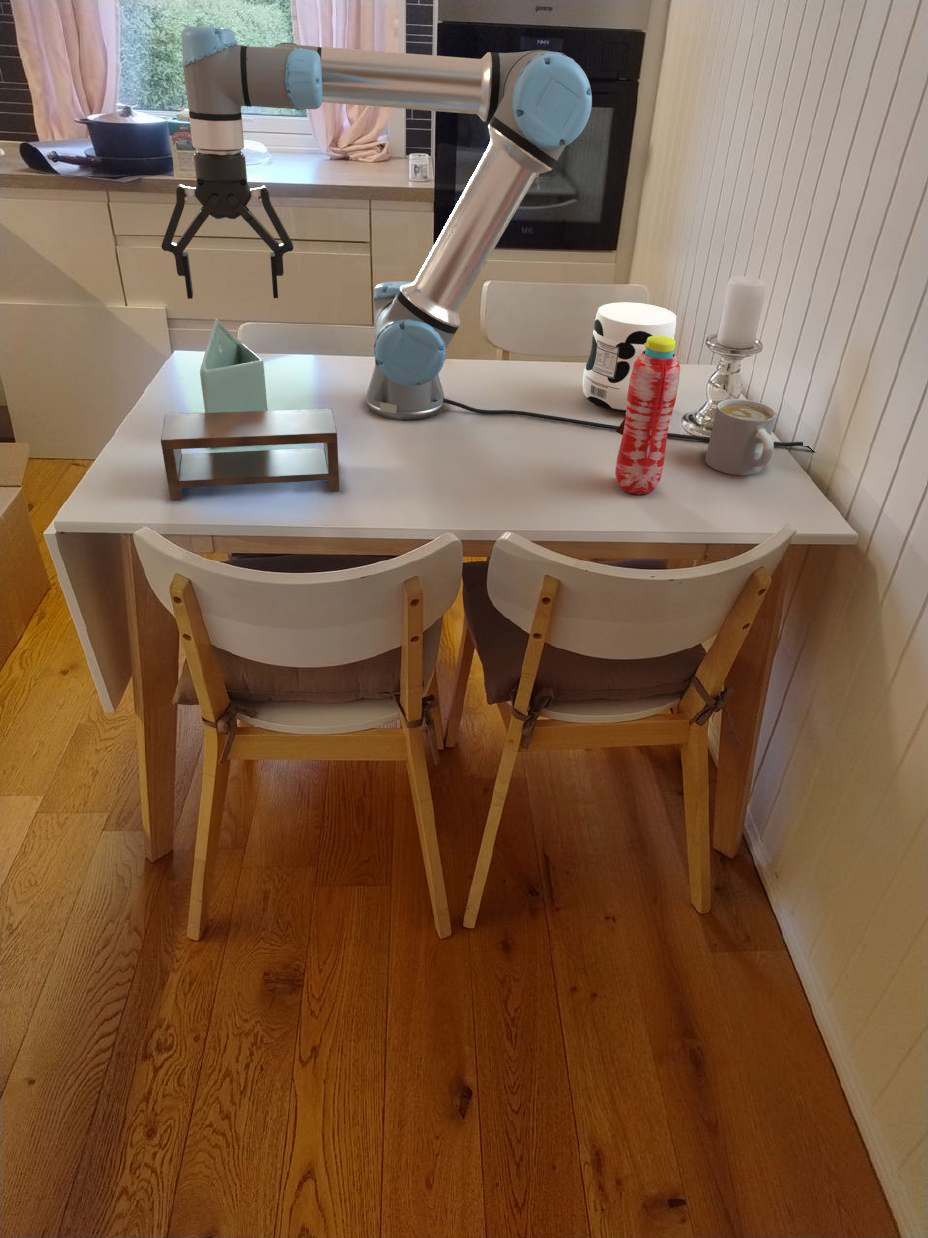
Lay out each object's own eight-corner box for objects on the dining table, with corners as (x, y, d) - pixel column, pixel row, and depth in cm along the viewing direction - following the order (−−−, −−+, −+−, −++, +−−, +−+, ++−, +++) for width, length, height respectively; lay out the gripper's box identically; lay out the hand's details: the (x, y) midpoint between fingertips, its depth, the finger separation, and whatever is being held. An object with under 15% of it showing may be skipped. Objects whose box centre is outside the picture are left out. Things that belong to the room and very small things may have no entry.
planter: (252, 453, 150) (240, 338, 138) (209, 448, 151) (193, 333, 139) (285, 417, 163) (277, 310, 152) (245, 413, 164) (233, 305, 153)
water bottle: (605, 467, 152) (627, 321, 137) (650, 469, 152) (677, 323, 137) (615, 499, 142) (639, 345, 127) (664, 501, 142) (694, 348, 128)
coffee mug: (697, 451, 159) (708, 398, 153) (749, 451, 160) (762, 398, 154) (724, 484, 148) (737, 429, 142) (779, 483, 149) (795, 428, 143)
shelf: (334, 464, 148) (331, 408, 142) (339, 491, 140) (337, 432, 134) (174, 472, 143) (165, 414, 137) (170, 500, 135) (160, 439, 129)
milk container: (665, 393, 183) (681, 305, 172) (666, 424, 169) (684, 330, 158) (582, 384, 185) (593, 297, 174) (577, 414, 171) (588, 321, 160)
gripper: (301, 149, 136) (308, 289, 149) (134, 144, 131) (155, 290, 144) (304, 156, 130) (311, 301, 143) (129, 151, 126) (152, 303, 138)
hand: (233, 296), depth 143 cm, fingers open, 13 cm apart
